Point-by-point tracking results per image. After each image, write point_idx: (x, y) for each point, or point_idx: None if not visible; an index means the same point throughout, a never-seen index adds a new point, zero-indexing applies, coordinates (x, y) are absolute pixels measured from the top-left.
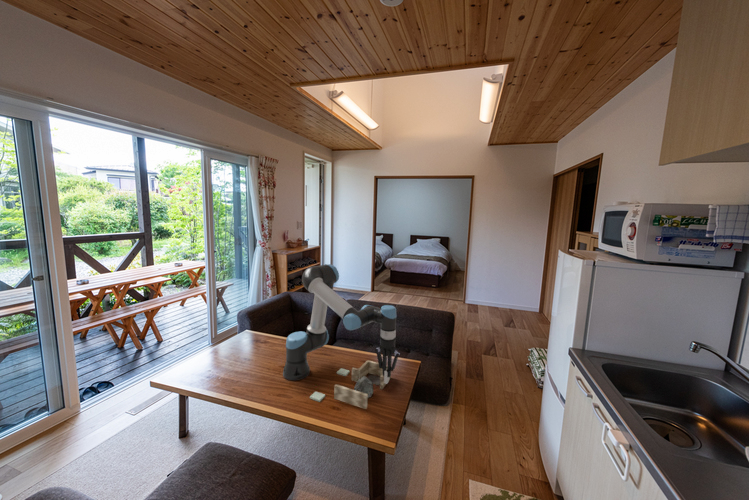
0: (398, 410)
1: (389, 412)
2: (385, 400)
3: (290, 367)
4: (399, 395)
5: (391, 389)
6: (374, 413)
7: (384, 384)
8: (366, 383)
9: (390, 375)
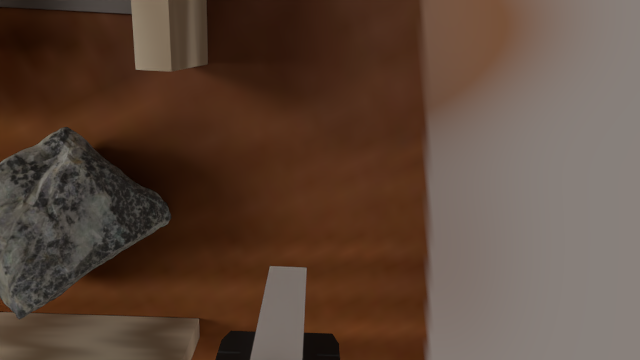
0: (415, 260)
1: (360, 302)
2: (290, 195)
3: None
4: (379, 83)
5: (285, 24)
6: None
7: (201, 7)
8: (70, 280)
9: (337, 353)
